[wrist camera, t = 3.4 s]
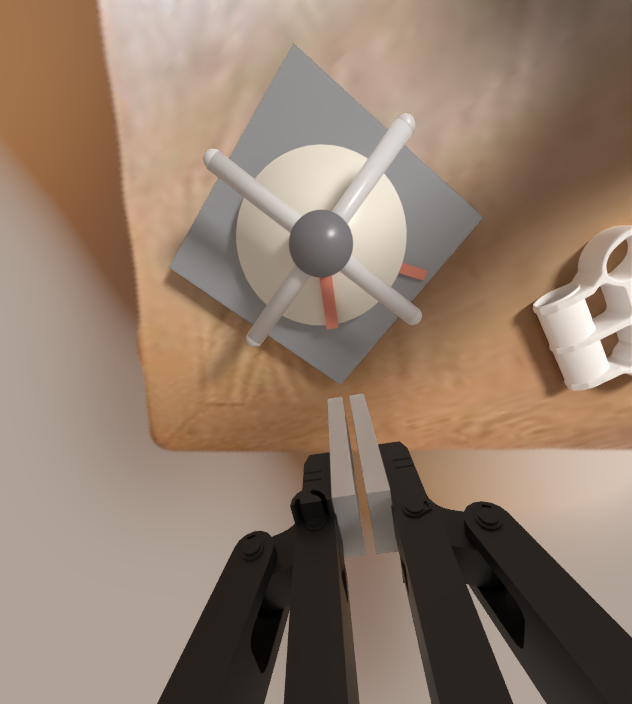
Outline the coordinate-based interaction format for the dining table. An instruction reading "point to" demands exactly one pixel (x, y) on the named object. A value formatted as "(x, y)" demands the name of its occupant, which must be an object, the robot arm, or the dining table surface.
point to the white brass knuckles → (575, 319)
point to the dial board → (328, 129)
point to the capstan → (321, 232)
